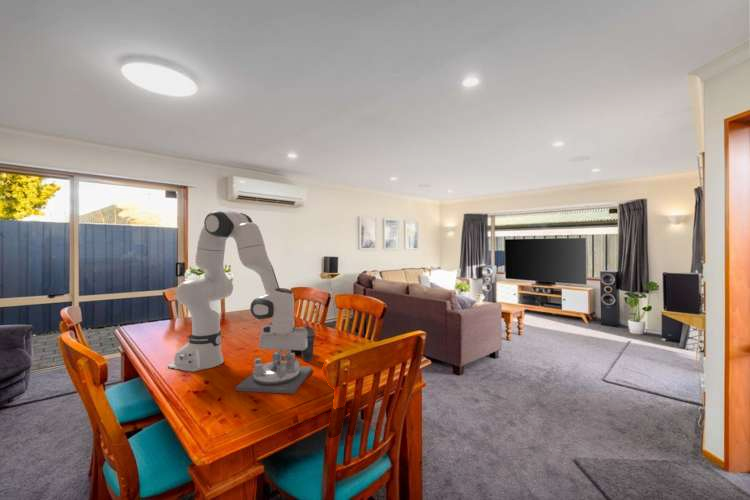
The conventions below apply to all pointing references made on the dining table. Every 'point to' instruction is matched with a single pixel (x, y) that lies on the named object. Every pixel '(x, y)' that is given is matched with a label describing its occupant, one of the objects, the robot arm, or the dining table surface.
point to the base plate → (282, 388)
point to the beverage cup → (308, 352)
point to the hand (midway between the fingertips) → (283, 359)
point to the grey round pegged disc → (276, 370)
